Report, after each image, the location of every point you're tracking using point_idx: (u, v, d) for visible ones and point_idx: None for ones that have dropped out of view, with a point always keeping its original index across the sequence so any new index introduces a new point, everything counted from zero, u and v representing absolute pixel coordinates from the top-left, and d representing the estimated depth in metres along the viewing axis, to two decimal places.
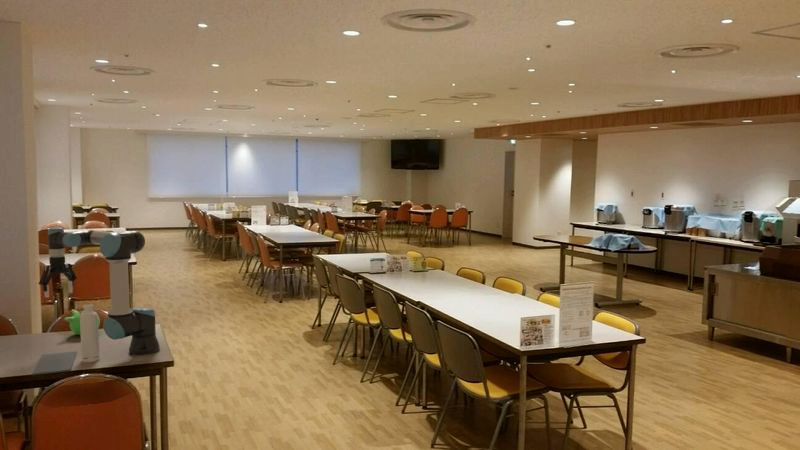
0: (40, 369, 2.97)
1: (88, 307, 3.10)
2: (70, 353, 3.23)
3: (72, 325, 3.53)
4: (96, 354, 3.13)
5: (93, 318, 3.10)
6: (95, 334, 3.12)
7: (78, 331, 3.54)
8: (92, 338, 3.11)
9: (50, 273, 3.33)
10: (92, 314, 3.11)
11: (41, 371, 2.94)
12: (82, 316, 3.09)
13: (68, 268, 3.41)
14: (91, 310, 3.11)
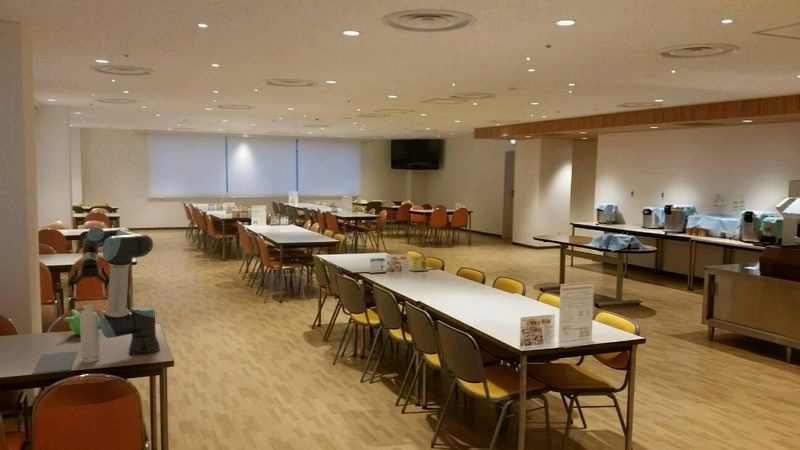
0: (40, 369, 2.97)
1: (88, 307, 3.10)
2: (70, 353, 3.23)
3: (72, 325, 3.53)
4: (96, 354, 3.13)
5: (93, 318, 3.10)
6: (95, 334, 3.12)
7: (78, 331, 3.54)
8: (92, 338, 3.11)
9: None
10: (92, 314, 3.11)
11: (41, 371, 2.94)
12: (82, 316, 3.09)
13: (102, 272, 3.34)
14: (91, 310, 3.11)
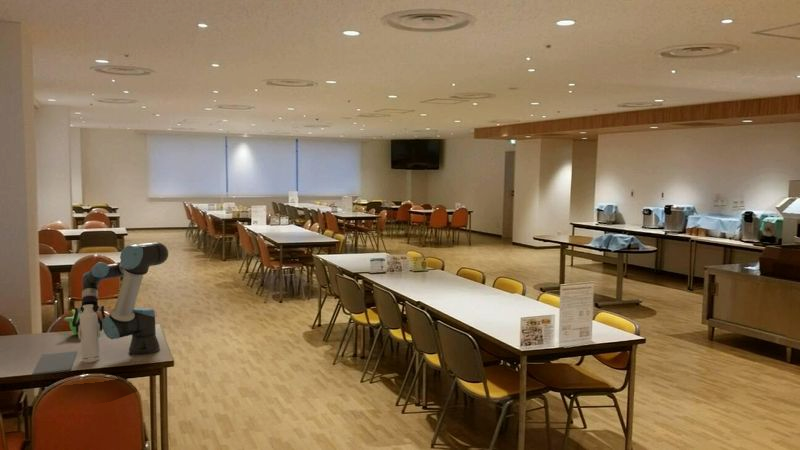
0: (40, 369, 2.97)
1: (88, 307, 3.10)
2: (70, 353, 3.23)
3: None
4: (96, 354, 3.13)
5: (92, 318, 3.10)
6: (95, 334, 3.12)
7: None
8: (92, 338, 3.11)
9: None
10: (92, 314, 3.10)
11: (41, 371, 2.94)
12: (82, 316, 3.09)
13: (101, 311, 3.20)
14: (91, 310, 3.11)
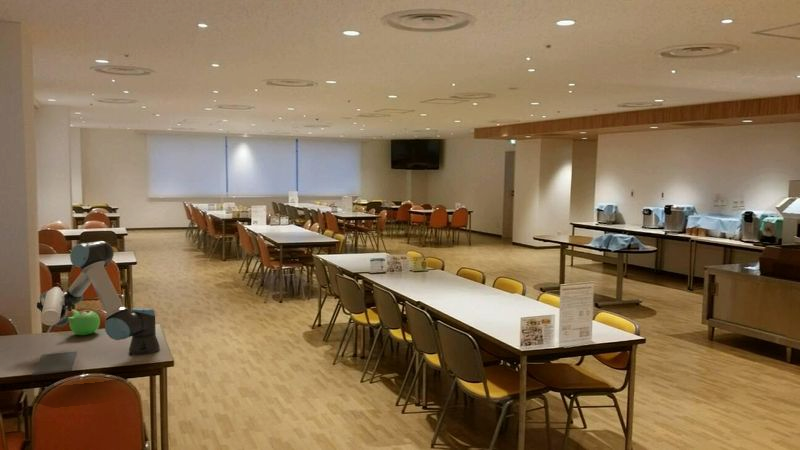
0: (40, 369, 2.97)
1: (56, 287, 3.16)
2: (70, 353, 3.23)
3: (72, 325, 3.53)
4: (57, 309, 2.96)
5: (59, 290, 3.12)
6: (59, 299, 3.05)
7: (78, 331, 3.54)
8: (56, 299, 3.03)
9: None
10: None
11: (41, 371, 2.94)
12: None
13: (67, 306, 3.18)
14: None
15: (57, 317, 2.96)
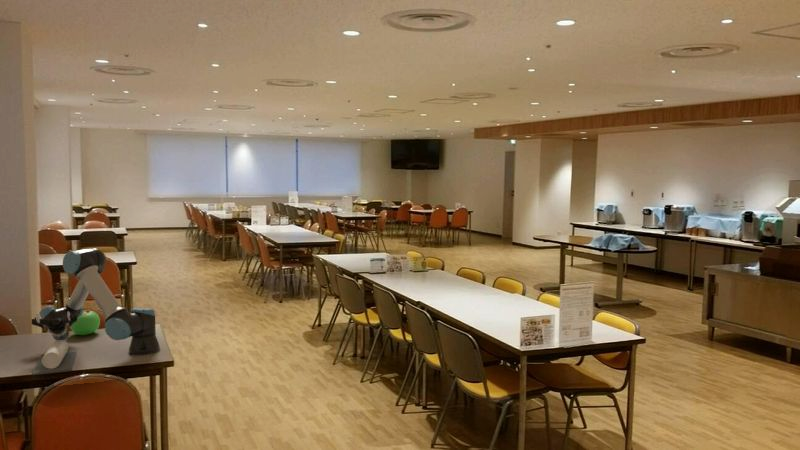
0: (40, 369, 2.97)
1: None
2: (70, 353, 3.23)
3: (72, 325, 3.53)
4: (59, 353, 3.01)
5: (64, 341, 3.19)
6: (63, 347, 3.11)
7: (78, 331, 3.54)
8: (60, 346, 3.09)
9: None
10: None
11: (41, 371, 2.94)
12: None
13: None
14: None
15: (58, 361, 3.00)
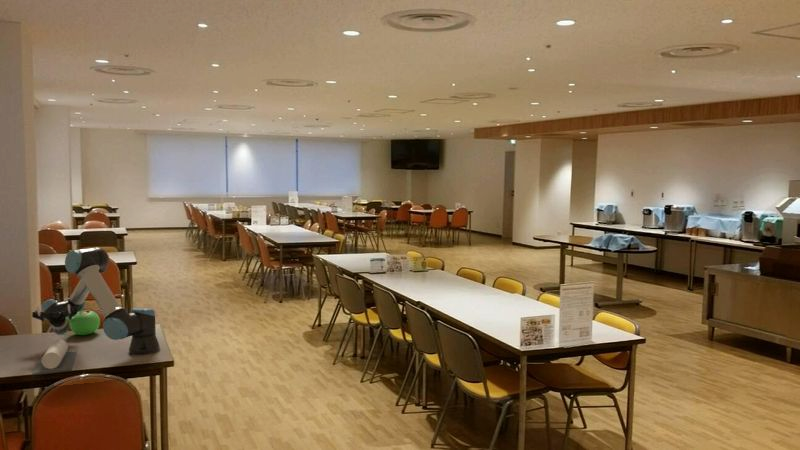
0: (40, 369, 2.97)
1: None
2: (70, 353, 3.23)
3: (72, 325, 3.53)
4: (59, 353, 3.01)
5: (64, 341, 3.19)
6: (62, 347, 3.11)
7: (78, 331, 3.54)
8: (59, 346, 3.09)
9: None
10: None
11: (41, 371, 2.94)
12: None
13: (69, 314, 3.24)
14: None
15: (58, 361, 3.00)
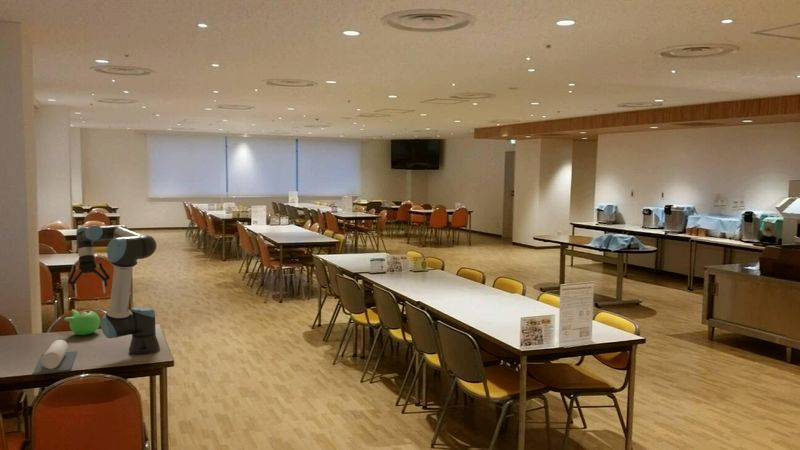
0: (40, 369, 2.97)
1: None
2: (70, 353, 3.23)
3: (72, 325, 3.53)
4: (59, 353, 3.01)
5: (64, 341, 3.19)
6: (62, 347, 3.11)
7: (78, 331, 3.54)
8: (59, 346, 3.09)
9: (79, 273, 3.32)
10: None
11: (41, 371, 2.94)
12: None
13: (100, 268, 3.37)
14: None
15: (58, 361, 3.00)
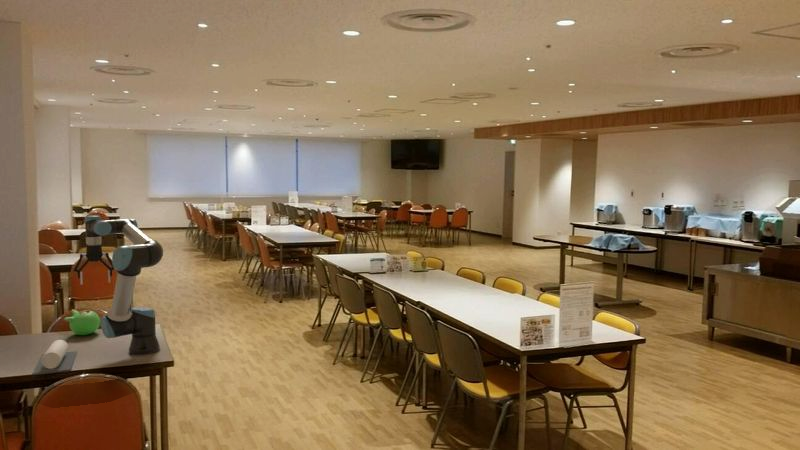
0: (40, 369, 2.97)
1: None
2: (70, 353, 3.23)
3: (72, 325, 3.53)
4: (59, 353, 3.01)
5: (64, 341, 3.19)
6: (62, 347, 3.11)
7: (78, 331, 3.54)
8: (59, 346, 3.09)
9: (86, 260, 3.33)
10: None
11: (41, 371, 2.94)
12: None
13: None
14: None
15: (58, 361, 3.00)
